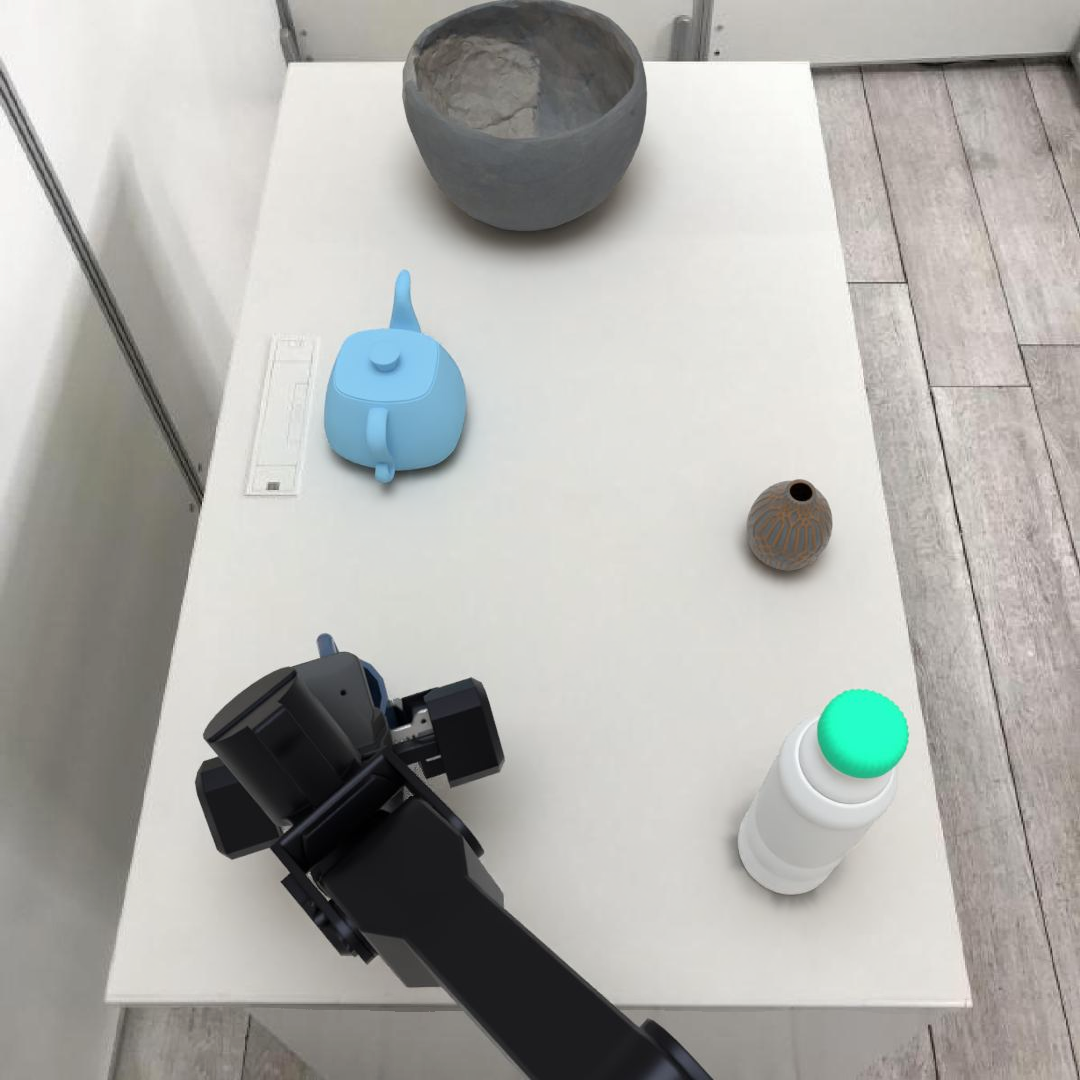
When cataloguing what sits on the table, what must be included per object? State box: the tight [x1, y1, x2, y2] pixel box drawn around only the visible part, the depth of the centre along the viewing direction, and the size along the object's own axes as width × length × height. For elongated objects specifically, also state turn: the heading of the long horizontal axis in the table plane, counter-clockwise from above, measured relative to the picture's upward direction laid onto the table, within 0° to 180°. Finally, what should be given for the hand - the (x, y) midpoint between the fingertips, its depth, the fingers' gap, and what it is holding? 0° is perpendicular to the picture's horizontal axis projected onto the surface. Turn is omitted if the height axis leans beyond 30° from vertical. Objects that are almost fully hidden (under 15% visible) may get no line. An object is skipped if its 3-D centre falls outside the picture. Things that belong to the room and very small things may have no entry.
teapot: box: [323, 269, 467, 484], centre depth 95 cm, size 13×11×18 cm
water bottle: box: [737, 688, 910, 896], centre depth 68 cm, size 7×7×25 cm
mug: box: [315, 632, 415, 793], centre depth 76 cm, size 10×7×13 cm
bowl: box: [401, 0, 648, 232], centre depth 109 cm, size 24×24×15 cm
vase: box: [746, 478, 834, 571], centre depth 88 cm, size 7×7×9 cm
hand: (349, 719), depth 76 cm, fingers closed on mug, 7 cm apart
